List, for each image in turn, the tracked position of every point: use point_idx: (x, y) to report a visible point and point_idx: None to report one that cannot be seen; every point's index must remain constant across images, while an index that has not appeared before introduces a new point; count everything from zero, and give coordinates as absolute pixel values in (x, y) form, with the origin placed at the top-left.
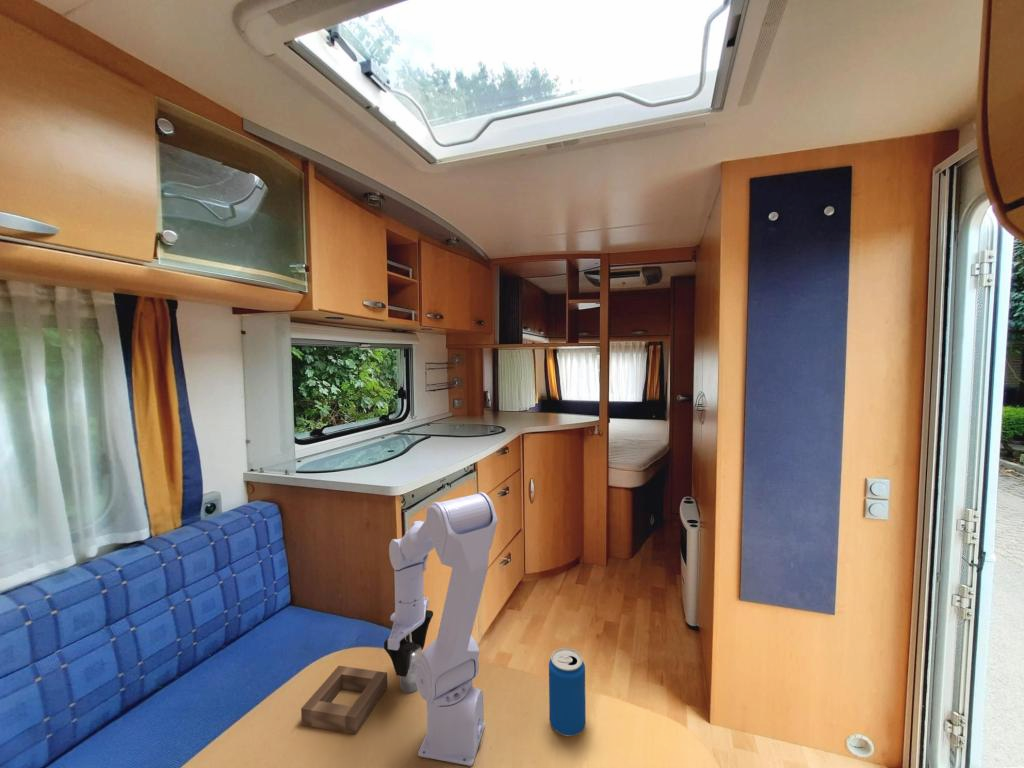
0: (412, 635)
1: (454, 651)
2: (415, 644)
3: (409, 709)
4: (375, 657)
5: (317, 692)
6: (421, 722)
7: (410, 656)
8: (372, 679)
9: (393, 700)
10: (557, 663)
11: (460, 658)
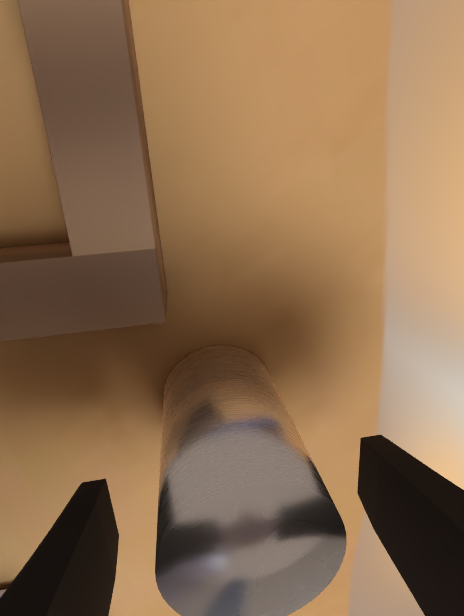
0: (431, 510)
1: None
2: (340, 546)
3: (83, 465)
4: (375, 57)
5: None
6: None
7: (191, 594)
8: (68, 262)
9: (100, 373)
10: None
11: None
